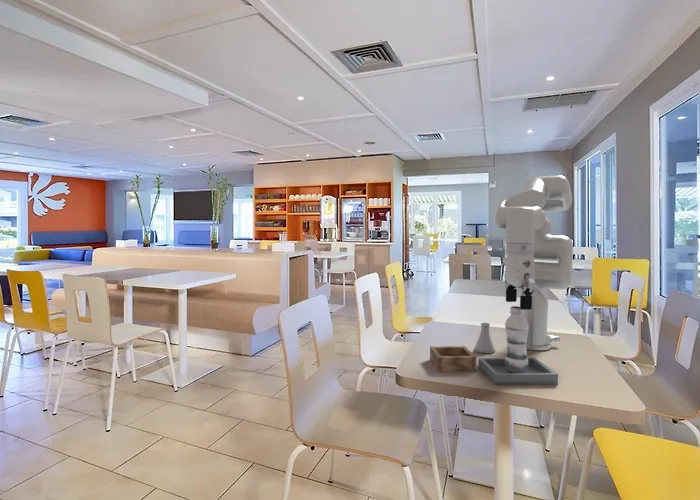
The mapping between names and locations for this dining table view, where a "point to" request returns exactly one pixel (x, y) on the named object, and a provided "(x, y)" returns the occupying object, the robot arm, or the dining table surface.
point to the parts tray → (501, 376)
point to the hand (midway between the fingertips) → (518, 305)
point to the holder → (452, 359)
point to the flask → (485, 340)
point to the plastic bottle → (516, 341)
